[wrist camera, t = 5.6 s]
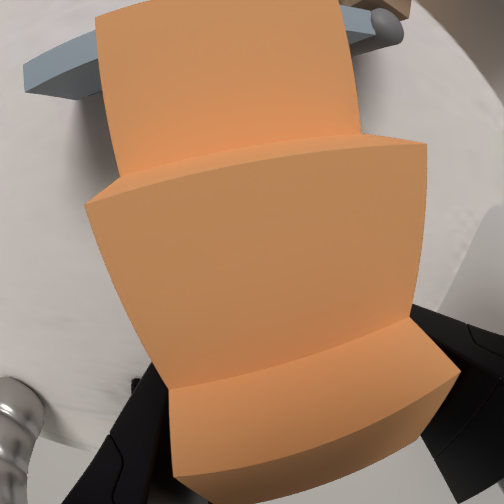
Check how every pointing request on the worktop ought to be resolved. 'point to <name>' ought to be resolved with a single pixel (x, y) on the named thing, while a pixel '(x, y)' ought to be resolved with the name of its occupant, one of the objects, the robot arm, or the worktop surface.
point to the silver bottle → (17, 437)
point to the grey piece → (87, 65)
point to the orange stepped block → (263, 244)
